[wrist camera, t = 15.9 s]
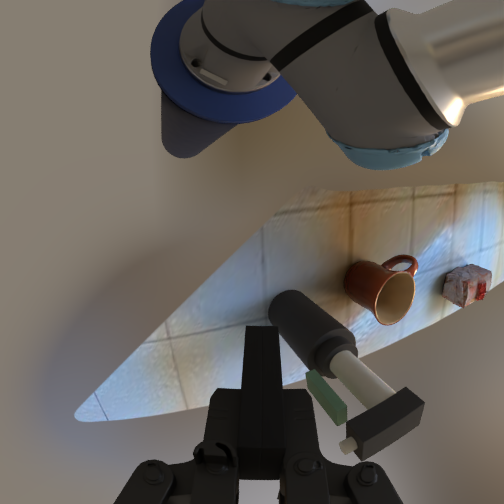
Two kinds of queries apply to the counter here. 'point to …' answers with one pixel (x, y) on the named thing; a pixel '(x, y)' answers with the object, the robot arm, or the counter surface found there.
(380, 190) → the counter surface
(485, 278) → the food item
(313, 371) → the trigger
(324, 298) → the counter surface
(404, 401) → the spray bottle
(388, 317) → the mug
